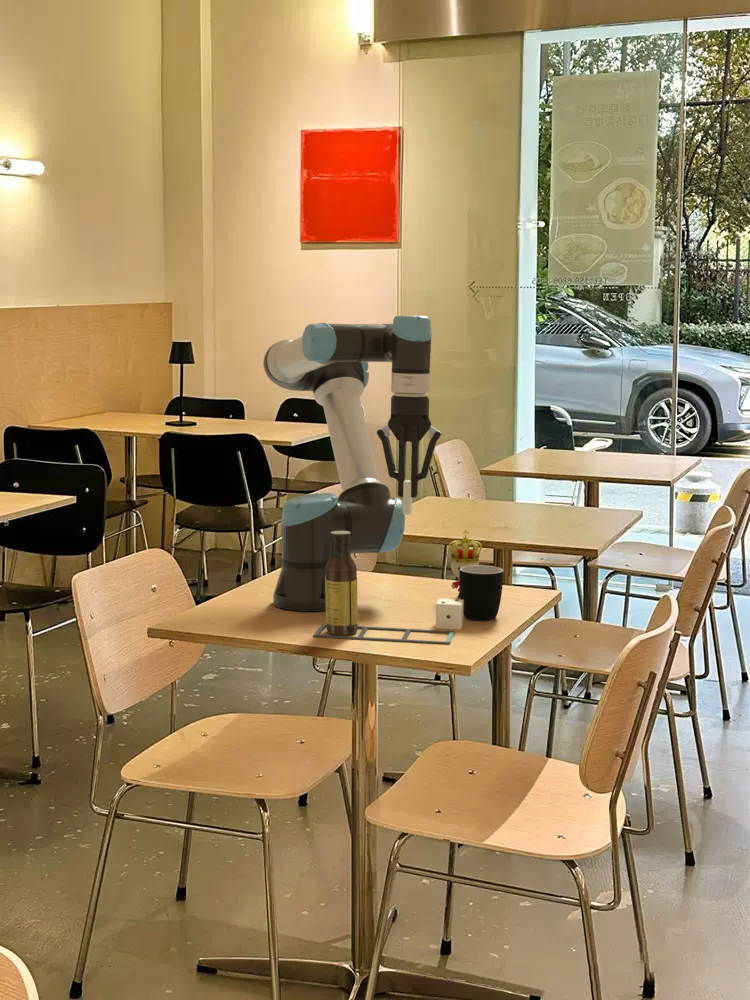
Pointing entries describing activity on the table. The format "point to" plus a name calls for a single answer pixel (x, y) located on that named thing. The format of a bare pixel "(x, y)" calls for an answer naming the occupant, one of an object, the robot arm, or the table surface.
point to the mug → (480, 591)
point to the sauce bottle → (341, 587)
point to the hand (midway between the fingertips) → (407, 513)
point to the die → (449, 613)
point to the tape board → (404, 638)
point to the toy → (463, 556)
